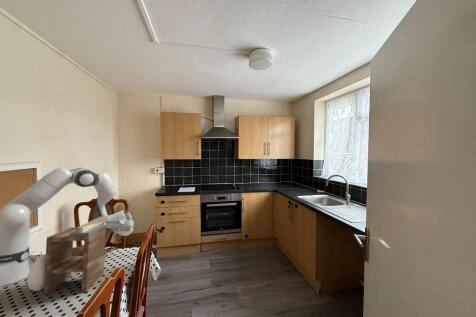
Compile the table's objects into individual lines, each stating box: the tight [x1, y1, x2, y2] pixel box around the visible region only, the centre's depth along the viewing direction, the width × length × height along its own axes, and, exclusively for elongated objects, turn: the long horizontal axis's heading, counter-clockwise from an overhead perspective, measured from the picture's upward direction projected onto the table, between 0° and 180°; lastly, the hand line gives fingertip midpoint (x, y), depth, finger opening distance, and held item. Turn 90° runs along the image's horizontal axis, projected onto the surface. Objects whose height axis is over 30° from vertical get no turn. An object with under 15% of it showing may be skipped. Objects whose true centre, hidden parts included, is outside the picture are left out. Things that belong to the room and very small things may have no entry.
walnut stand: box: [42, 226, 107, 296], centre depth 94 cm, size 18×14×26 cm
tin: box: [72, 244, 84, 256], centre depth 116 cm, size 15×3×8 cm, turn 139°
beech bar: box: [76, 216, 108, 233], centre depth 99 cm, size 3×22×2 cm, turn 8°
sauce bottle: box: [26, 251, 46, 292], centre depth 89 cm, size 8×8×18 cm
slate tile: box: [70, 224, 104, 236], centre depth 95 cm, size 8×13×2 cm, turn 8°
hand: (110, 221), depth 115 cm, fingers open, 8 cm apart
